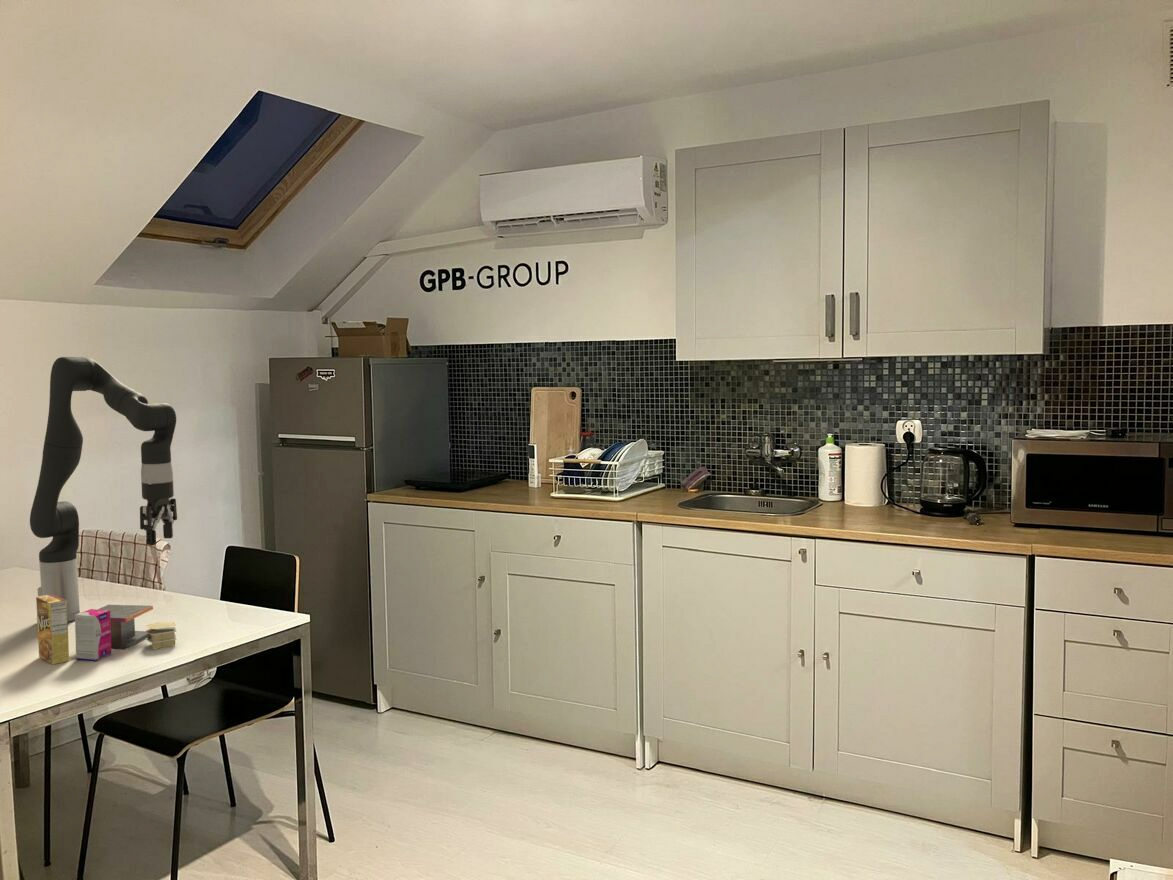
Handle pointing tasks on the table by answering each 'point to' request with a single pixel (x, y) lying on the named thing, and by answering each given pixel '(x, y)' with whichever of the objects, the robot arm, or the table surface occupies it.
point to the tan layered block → (161, 634)
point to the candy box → (52, 629)
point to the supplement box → (93, 635)
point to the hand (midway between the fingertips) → (160, 541)
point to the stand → (125, 625)
